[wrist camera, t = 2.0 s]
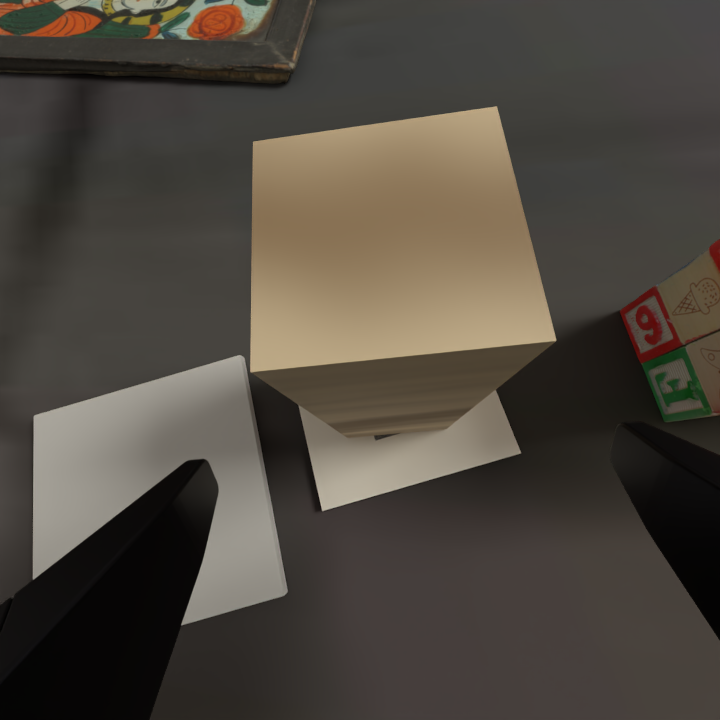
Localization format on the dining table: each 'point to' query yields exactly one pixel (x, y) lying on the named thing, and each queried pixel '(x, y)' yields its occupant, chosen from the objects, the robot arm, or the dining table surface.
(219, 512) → the pad
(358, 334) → the maple block
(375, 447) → the tile
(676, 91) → the dining table surface
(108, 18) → the painting
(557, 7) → the dining table surface
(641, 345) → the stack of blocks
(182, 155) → the dining table surface
